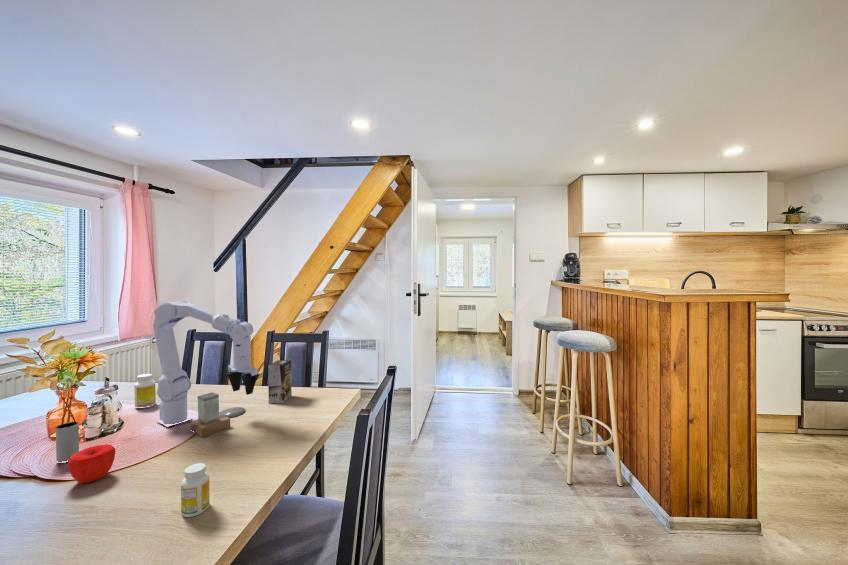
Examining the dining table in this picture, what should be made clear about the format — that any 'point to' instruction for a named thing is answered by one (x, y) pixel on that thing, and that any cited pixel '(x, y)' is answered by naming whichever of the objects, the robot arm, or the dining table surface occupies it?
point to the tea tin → (208, 408)
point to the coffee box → (279, 381)
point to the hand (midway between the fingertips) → (242, 392)
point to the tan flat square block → (210, 426)
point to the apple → (91, 463)
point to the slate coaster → (232, 412)
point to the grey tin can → (67, 441)
